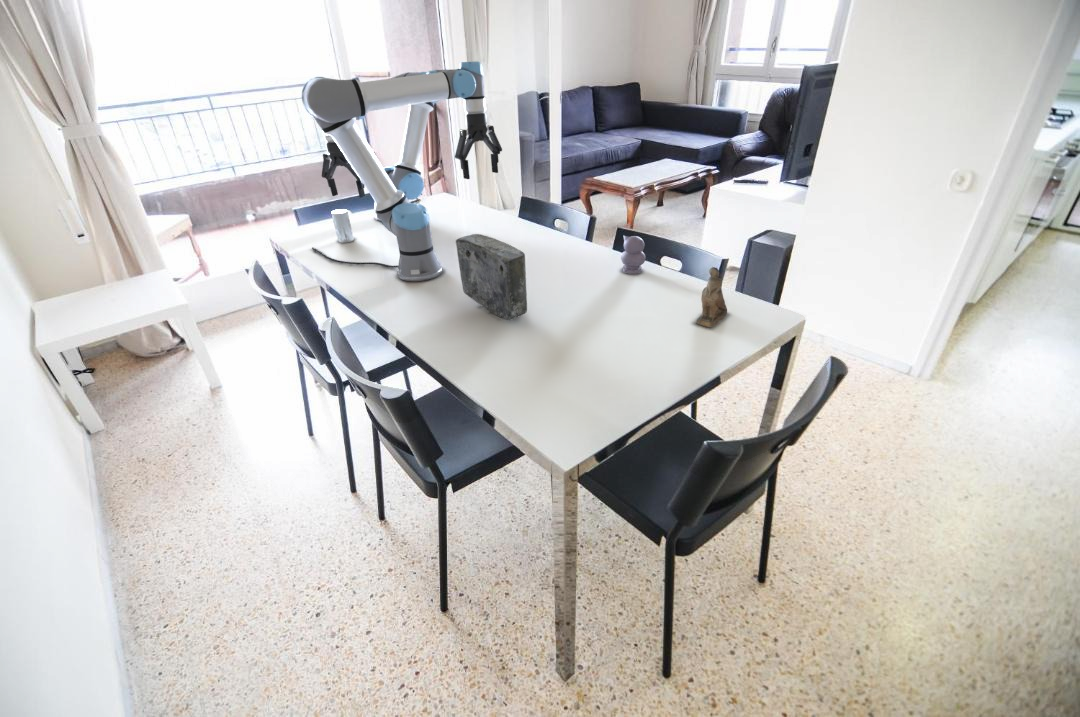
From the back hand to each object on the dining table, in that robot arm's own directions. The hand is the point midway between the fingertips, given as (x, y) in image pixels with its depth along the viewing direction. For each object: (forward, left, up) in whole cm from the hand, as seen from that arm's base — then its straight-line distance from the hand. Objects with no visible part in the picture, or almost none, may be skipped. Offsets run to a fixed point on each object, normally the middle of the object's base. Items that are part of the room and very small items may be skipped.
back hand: (348, 196), depth 205 cm
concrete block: (+50, +86, -18) cm, 101 cm away
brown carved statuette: (+40, +147, -18) cm, 153 cm away
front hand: (-4, +59, +9) cm, 60 cm away
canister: (+4, -4, -18) cm, 19 cm away
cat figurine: (+10, +120, -18) cm, 121 cm away
